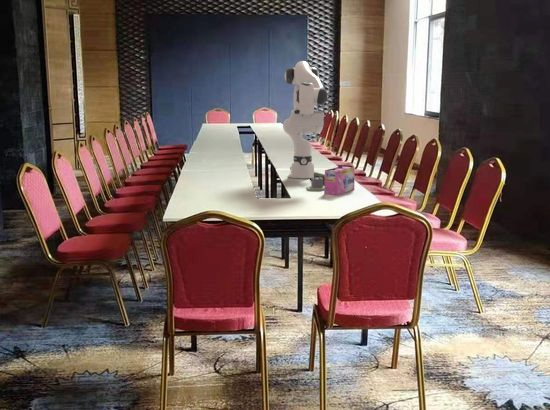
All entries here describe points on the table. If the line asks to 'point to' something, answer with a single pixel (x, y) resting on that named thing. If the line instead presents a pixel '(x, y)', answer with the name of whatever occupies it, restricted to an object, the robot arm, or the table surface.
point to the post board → (315, 188)
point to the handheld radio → (317, 175)
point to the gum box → (339, 180)
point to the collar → (317, 182)
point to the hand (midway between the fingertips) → (306, 134)
